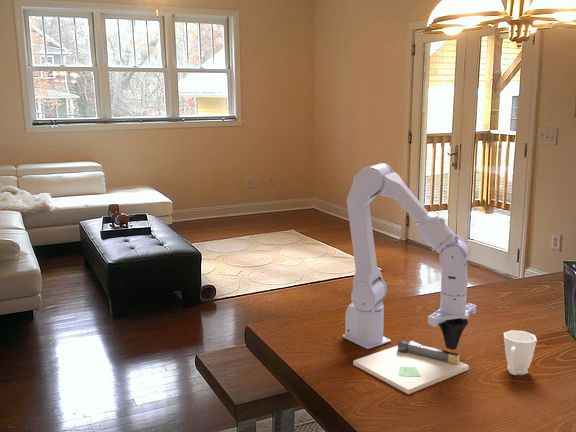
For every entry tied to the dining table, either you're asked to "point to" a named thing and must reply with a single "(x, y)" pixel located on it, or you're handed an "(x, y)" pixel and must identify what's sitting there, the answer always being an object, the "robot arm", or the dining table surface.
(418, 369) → the board
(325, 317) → the dining table surface
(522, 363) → the cup
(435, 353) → the lever
